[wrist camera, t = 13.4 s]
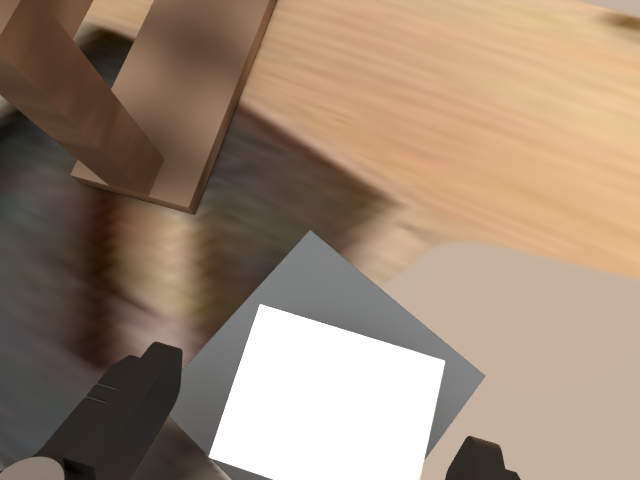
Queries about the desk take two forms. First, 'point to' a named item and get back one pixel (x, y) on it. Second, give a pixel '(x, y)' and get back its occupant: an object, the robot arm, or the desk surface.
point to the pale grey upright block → (327, 404)
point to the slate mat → (324, 307)
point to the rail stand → (135, 91)
